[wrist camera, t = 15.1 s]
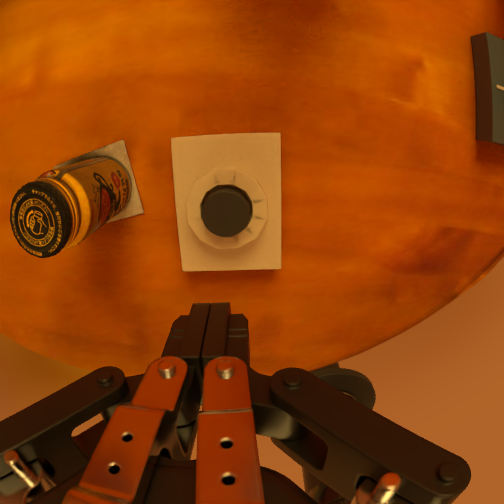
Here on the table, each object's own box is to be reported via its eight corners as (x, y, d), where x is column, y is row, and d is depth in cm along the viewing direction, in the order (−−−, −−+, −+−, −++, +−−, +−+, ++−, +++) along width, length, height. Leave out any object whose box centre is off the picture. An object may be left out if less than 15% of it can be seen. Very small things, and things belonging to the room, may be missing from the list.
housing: (279, 259, 31) (283, 277, 28) (186, 262, 31) (178, 280, 28) (278, 132, 27) (282, 132, 23) (176, 137, 27) (165, 138, 23)
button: (249, 230, 27) (249, 236, 25) (205, 231, 27) (203, 238, 25) (248, 186, 25) (248, 190, 24) (203, 188, 25) (199, 192, 24)
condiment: (144, 212, 30) (89, 261, 18) (75, 232, 30) (7, 282, 19) (124, 139, 27) (54, 149, 16) (55, 166, 28) (-25, 191, 16)
